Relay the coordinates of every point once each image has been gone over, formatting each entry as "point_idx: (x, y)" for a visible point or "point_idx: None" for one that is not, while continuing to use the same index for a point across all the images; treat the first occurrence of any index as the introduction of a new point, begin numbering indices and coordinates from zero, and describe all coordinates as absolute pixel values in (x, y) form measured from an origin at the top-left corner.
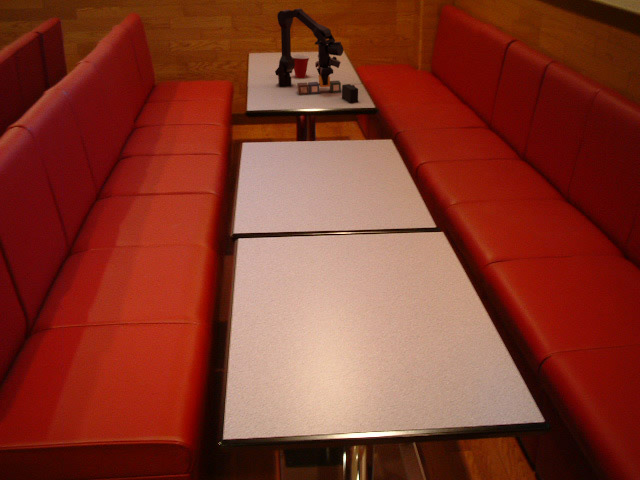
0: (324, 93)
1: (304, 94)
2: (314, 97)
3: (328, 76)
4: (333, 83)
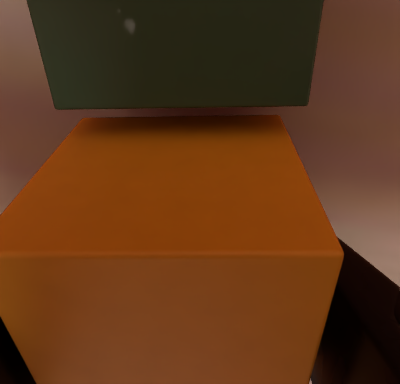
0: None
1: None
2: (395, 282)
3: (228, 278)
4: (316, 45)
